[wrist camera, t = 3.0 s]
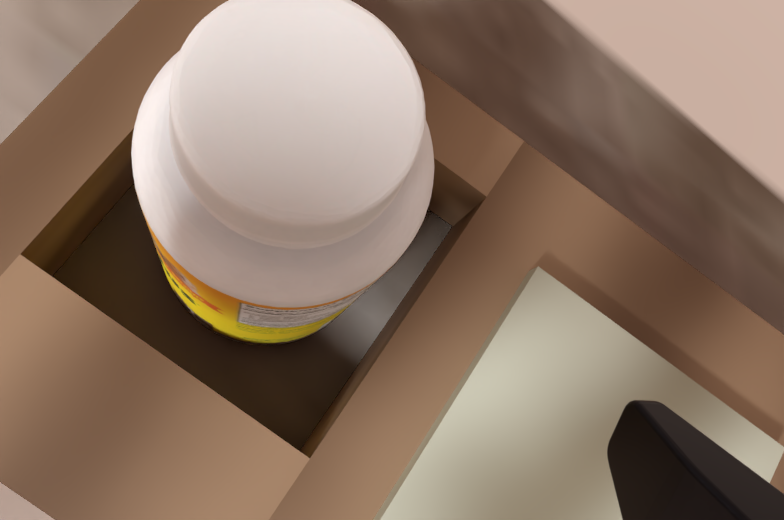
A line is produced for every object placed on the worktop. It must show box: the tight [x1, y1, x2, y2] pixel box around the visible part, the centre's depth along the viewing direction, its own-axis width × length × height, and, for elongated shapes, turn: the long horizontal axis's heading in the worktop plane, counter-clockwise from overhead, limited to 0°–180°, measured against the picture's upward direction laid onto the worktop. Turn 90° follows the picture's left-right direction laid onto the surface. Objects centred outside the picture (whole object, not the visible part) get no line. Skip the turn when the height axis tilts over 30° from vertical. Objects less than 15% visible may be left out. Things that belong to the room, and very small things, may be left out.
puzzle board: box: [0, 0, 784, 520], centre depth 19 cm, size 22×14×4 cm, turn 56°
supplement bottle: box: [131, 0, 434, 345], centre depth 16 cm, size 6×6×10 cm
